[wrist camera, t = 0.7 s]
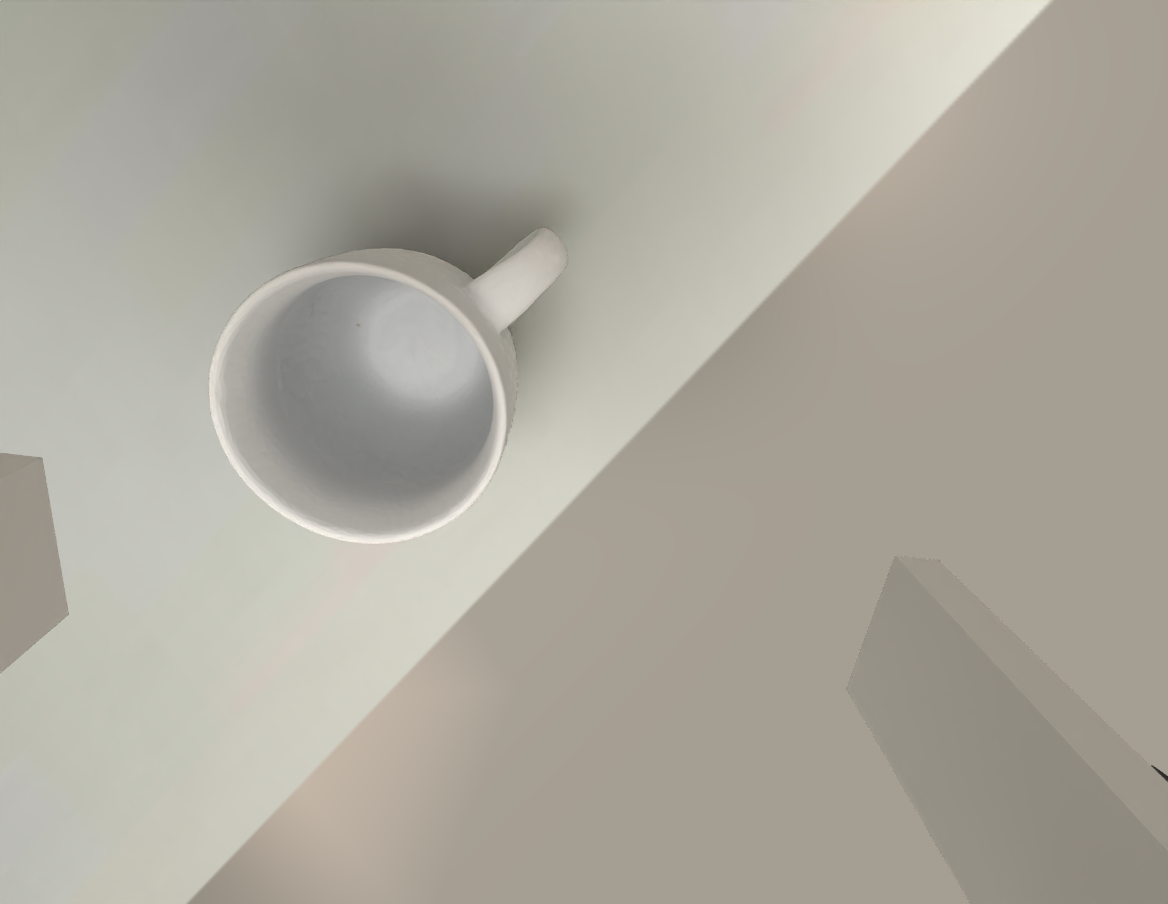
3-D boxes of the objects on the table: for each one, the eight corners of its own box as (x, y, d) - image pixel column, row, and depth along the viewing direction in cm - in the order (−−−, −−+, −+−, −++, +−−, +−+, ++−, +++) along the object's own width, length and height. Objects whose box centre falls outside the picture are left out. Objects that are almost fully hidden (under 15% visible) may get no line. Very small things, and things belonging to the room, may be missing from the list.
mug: (491, 141, 33) (448, 105, 20) (623, 315, 36) (653, 374, 24) (283, 326, 36) (138, 391, 23) (422, 471, 39) (358, 595, 27)
